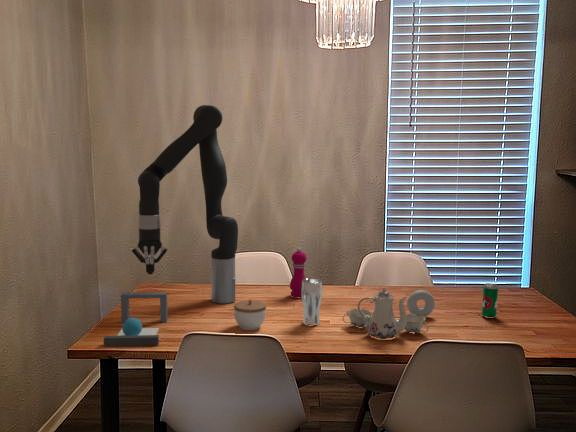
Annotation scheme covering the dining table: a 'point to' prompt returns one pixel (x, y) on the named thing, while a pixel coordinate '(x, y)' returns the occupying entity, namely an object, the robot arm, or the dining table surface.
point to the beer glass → (311, 300)
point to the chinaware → (385, 317)
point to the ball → (132, 327)
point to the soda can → (490, 300)
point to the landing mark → (143, 331)
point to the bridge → (160, 295)
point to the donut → (418, 296)
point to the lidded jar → (249, 314)
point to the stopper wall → (131, 340)
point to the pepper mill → (298, 273)
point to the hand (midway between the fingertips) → (150, 273)
